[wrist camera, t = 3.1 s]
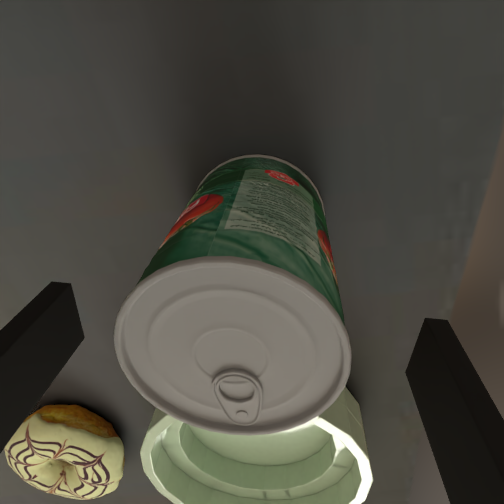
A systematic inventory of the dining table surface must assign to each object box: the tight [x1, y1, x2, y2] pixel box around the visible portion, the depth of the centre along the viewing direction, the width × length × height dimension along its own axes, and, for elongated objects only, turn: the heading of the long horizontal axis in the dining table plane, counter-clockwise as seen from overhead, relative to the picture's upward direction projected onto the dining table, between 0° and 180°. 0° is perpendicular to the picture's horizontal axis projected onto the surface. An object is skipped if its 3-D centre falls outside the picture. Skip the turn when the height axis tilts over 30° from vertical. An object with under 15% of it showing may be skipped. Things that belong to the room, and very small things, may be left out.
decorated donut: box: [5, 405, 125, 500], centre depth 33 cm, size 10×11×4 cm
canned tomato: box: [114, 154, 352, 436], centre depth 17 cm, size 8×8×11 cm
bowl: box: [140, 386, 373, 504], centre depth 28 cm, size 17×17×5 cm
